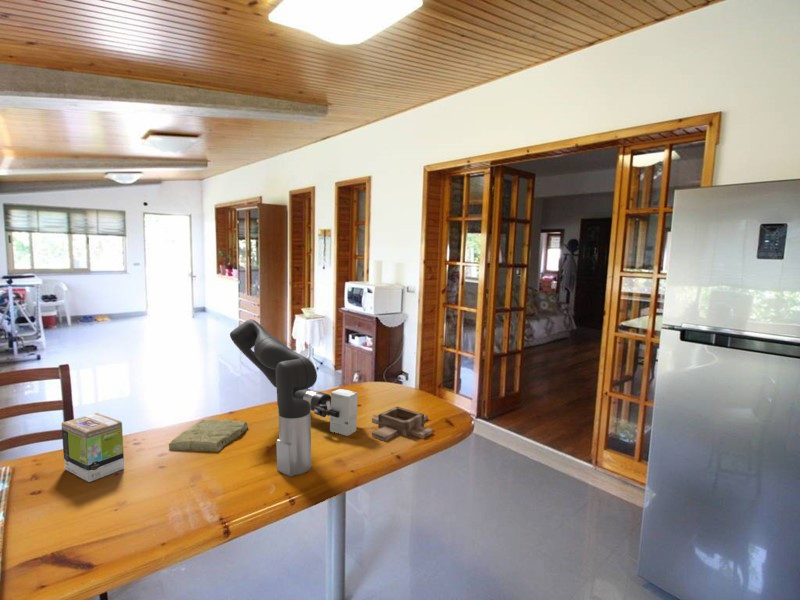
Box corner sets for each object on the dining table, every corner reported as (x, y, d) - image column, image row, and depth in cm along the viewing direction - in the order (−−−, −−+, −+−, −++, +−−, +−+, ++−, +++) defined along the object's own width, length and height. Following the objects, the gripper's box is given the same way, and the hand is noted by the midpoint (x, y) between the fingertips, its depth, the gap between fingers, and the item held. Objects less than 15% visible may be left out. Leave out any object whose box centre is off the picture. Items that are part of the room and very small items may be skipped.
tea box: (126, 468, 128) (123, 421, 127) (88, 483, 120) (84, 433, 118) (100, 456, 136) (97, 411, 134) (63, 469, 127) (59, 421, 126)
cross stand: (405, 448, 142) (405, 434, 142) (353, 430, 157) (353, 417, 156) (447, 424, 163) (447, 412, 162) (397, 410, 177) (397, 398, 177)
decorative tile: (168, 450, 141) (167, 440, 140) (202, 426, 161) (202, 417, 160) (222, 453, 139) (221, 443, 138) (250, 428, 159) (249, 419, 158)
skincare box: (329, 432, 155) (329, 392, 154) (339, 426, 160) (339, 387, 159) (348, 436, 151) (348, 396, 150) (358, 430, 157) (358, 391, 155)
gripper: (302, 396, 158) (332, 406, 148) (331, 387, 169) (361, 396, 159) (302, 416, 159) (332, 427, 149) (331, 405, 170) (361, 415, 160)
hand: (347, 411), depth 154 cm, fingers open, 8 cm apart
